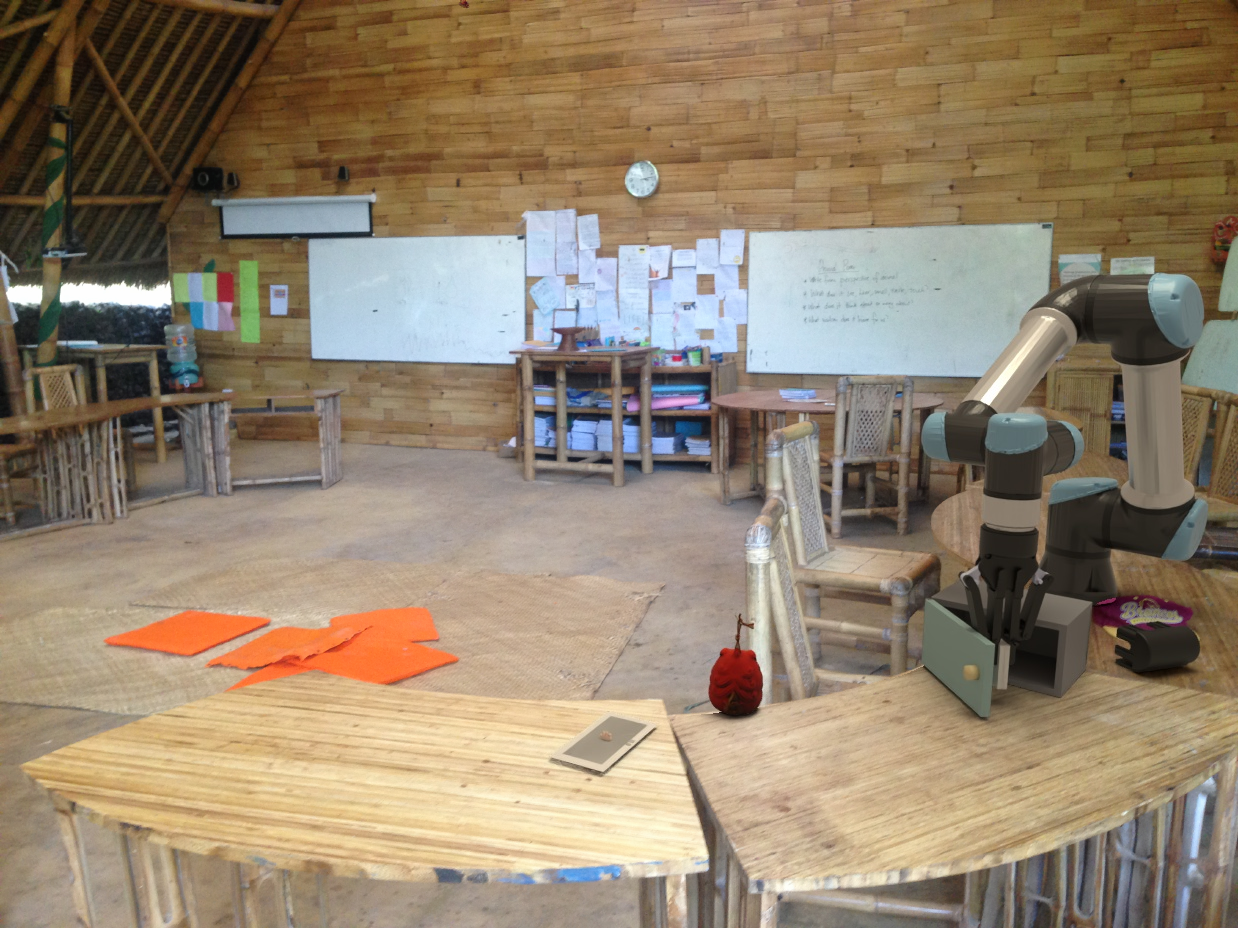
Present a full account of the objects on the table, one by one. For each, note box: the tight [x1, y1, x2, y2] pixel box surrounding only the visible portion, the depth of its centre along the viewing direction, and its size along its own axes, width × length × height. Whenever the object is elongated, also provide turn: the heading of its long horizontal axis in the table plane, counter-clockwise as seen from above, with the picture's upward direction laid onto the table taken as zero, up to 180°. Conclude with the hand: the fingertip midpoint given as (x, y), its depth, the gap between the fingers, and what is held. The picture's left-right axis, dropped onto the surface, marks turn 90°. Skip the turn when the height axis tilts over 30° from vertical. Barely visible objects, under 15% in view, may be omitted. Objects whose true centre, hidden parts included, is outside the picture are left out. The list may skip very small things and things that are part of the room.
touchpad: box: [548, 711, 660, 773], centre depth 120 cm, size 8×15×2 cm, turn 151°
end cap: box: [1114, 620, 1201, 673], centre depth 146 cm, size 10×7×7 cm
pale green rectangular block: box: [920, 597, 995, 718], centre depth 137 cm, size 3×20×10 cm, turn 6°
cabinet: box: [930, 579, 1093, 699], centre depth 146 cm, size 14×20×11 cm
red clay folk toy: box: [707, 613, 764, 716], centre depth 130 cm, size 8×7×15 cm
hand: (997, 685), depth 133 cm, fingers closed
